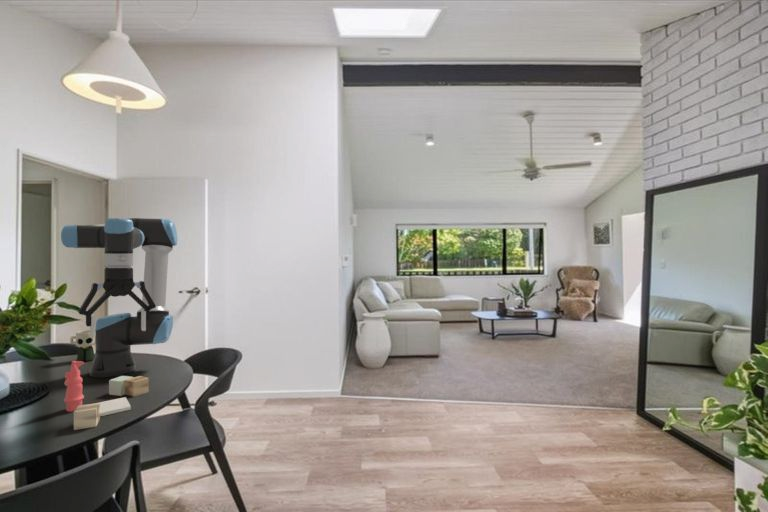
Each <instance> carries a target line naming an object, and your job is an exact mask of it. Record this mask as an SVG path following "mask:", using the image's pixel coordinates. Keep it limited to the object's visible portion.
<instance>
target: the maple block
mask: <svg viewBox="0 0 768 512" xmlns="http://www.w3.org/2000/svg"><path fill="white" fill-rule="evenodd" d="M100 421H101V416H100V403H99V402H96V403H89V404H82V405H80V406H78V407H77V409H76V410H75V411H73V431H77V430H82V429H89V428H94V427H97V426H98V424H99V422H100Z"/></svg>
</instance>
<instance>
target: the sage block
mask: <svg viewBox="0 0 768 512" xmlns="http://www.w3.org/2000/svg"><path fill="white" fill-rule="evenodd" d="M130 378H134V376H129V375H119V376H116V377H115V378H111V379H110V380H108V395H110V396H111V395H112V396H119V397H121V396H125V395H126V394H125V380H127V379H130Z"/></svg>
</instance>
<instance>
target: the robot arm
mask: <svg viewBox="0 0 768 512" xmlns="http://www.w3.org/2000/svg"><path fill="white" fill-rule="evenodd" d="M60 241H61V243H62V245H63V246H64V247H66V248H70V249H71V248H74V249H104V264H103V265H104V266H105V269H104V282H103V283H96V282H93V283H91V287H90V288H91V289H90V291H89V293H88V294H87V296H86V298H85V299H84V301H83V303H81V305H80V307H79V308H78V311H77V312H78V314H79V315H84V316H85V325H86V327H89V330H90V336H91V337H95V345H94V346H95V351H94V357H95V358H94V359H92V363H91V366H90V368H89V376H90V377H91V378H98V379H99V378H101V379H102V378H111V377H112V378H113V377H120V376H124V375H126V374H130V373H132V372H134V371H135V370H136V362H135V359H134V356H133V353H132V352H131V347H132V346H140V345H141V346H142V345H157V344H164V343H167V342H168V341H169V340H170V337H171V335H172V330H173V325H174V317H173V316H174V315H172V314H170V311H169V310H168V309H167V308H166V299H167V285H168V284H167V279H168V267H169V266H168V265H169V253H171V252H172V251H173V248H174V247H175V246H177V245H178V233H177V227H176V225H175V222H174V221H173V220H171V219H167V218H144V217H143V218H141V217H140V218H139V217H131V218H117V217H116V218H112V217H111V218H106V219H105V221H104V223H100V224H99V223H98V224H87V225H79V224H78V225H77V224H73V225H72V224H67V225H65V226H63V227H62V229H61V232H60ZM140 247H141V249H142V250H143V251H144V252H145V256H144V257H145V258H144V269H143V270H144V271H143V280H139V281H135V282H134V268H133V267H132V266H134V249H137V248H140ZM134 287H136V288H138V289H139V291H140V292H141V294H142V297H141V298H139V296H138V295H137V294H136V293H134V291H133V289H134ZM102 288H103V289H104V290H105V292H103V294H102V295H101V296H100V297H99V298H98V299H97V300H96V301H95V302H94V304H92V305H91V306H90V307H89V305H90V304H91V302H92V301H93V299H94V297H95V296H96V294H97V292H98V291H100V290H101V289H102ZM127 295H128V296H129V297H130V298H132V299H133V300H134V301H135V302H136V303H137V304H138V305H139V306H140V308H139V309H138V310H137V311H136V315H135V316H132V314H131V313H130V312H122V313H115V314H111V315H110V314H109V315H106V316H102V317H100V318H97V319H96V317H95V315H94V313H95V312H96V311H97V310H98V309H99V308H100V307H101V305H103V304H104V302H105V301H106V300H108V299H109V298H110V297H126V296H127ZM87 308H88V309H87ZM95 319H96V321H95Z"/></svg>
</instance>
